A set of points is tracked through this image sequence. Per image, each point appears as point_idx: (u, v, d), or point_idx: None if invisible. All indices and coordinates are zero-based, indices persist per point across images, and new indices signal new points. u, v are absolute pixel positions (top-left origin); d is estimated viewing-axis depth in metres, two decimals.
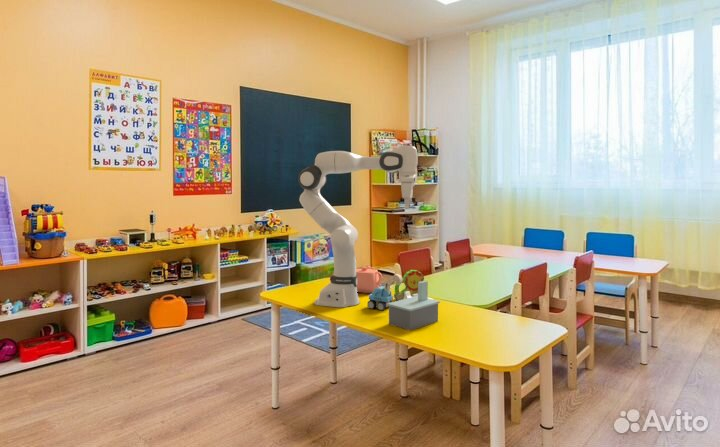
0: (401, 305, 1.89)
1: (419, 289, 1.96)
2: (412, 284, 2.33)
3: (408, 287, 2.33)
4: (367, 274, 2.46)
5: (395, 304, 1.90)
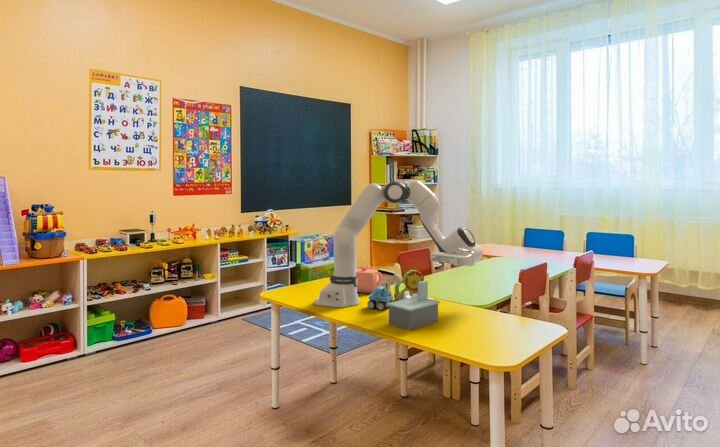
0: (401, 305, 1.89)
1: (419, 289, 1.96)
2: (412, 284, 2.33)
3: (408, 287, 2.33)
4: (367, 274, 2.46)
5: (395, 304, 1.90)
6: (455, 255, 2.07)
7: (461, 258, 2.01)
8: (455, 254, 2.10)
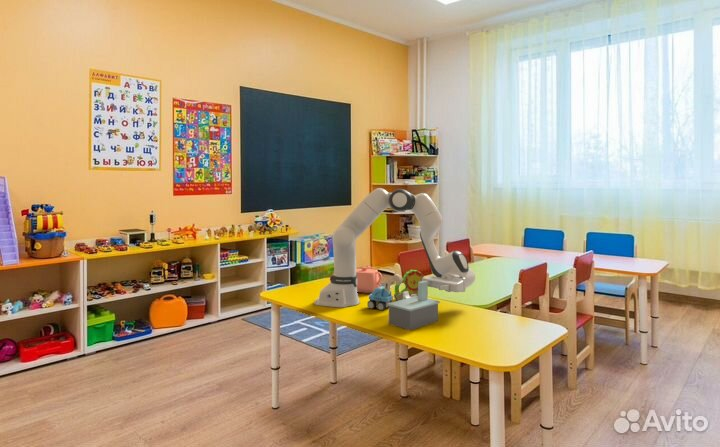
0: (401, 305, 1.89)
1: (419, 289, 1.96)
2: (412, 284, 2.33)
3: (408, 287, 2.33)
4: (367, 274, 2.46)
5: (395, 304, 1.90)
6: (446, 281, 2.04)
7: (452, 285, 1.98)
8: (446, 279, 2.07)
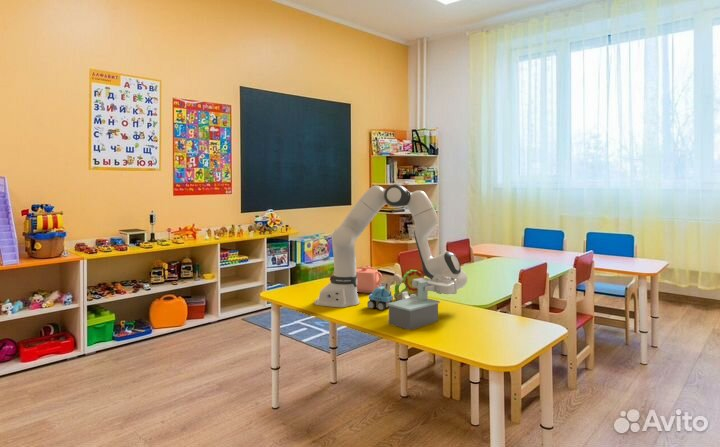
0: (401, 305, 1.89)
1: (419, 289, 1.96)
2: None
3: (408, 287, 2.33)
4: (367, 274, 2.46)
5: (395, 304, 1.90)
6: (437, 283, 1.99)
7: (443, 286, 1.94)
8: (437, 281, 2.03)
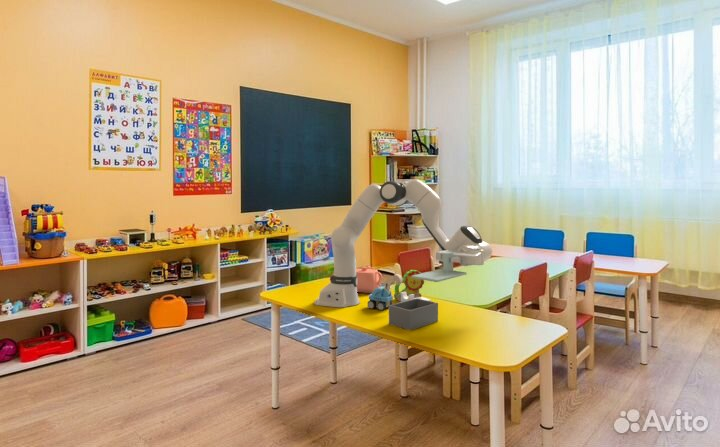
0: (427, 276, 1.78)
1: (444, 260, 1.86)
2: (412, 284, 2.33)
3: (408, 287, 2.33)
4: (367, 274, 2.46)
5: (420, 276, 1.80)
6: (463, 253, 1.89)
7: (470, 257, 1.83)
8: (463, 252, 1.92)
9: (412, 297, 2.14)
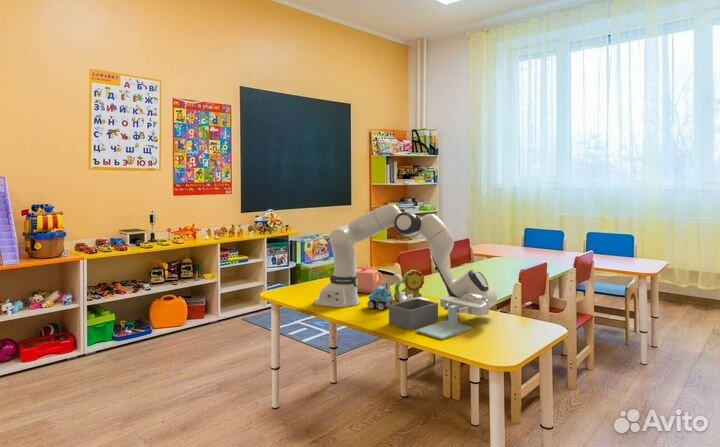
0: (431, 332, 1.78)
1: (449, 314, 1.85)
2: (412, 284, 2.33)
3: (408, 287, 2.33)
4: (367, 274, 2.46)
5: (425, 331, 1.79)
6: (468, 303, 1.88)
7: (475, 307, 1.82)
8: (468, 301, 1.91)
9: (411, 297, 2.13)
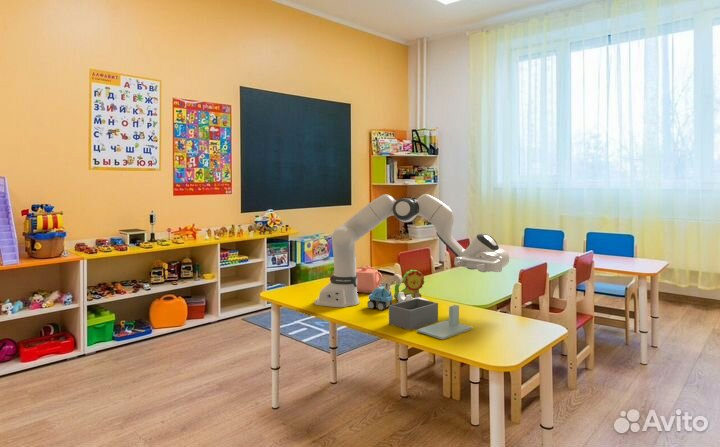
0: (432, 332, 1.78)
1: (450, 314, 1.85)
2: (412, 284, 2.33)
3: (408, 287, 2.33)
4: (367, 274, 2.46)
5: (425, 330, 1.80)
6: (482, 260, 1.93)
7: (489, 263, 1.88)
8: (481, 259, 1.97)
9: (409, 297, 2.13)
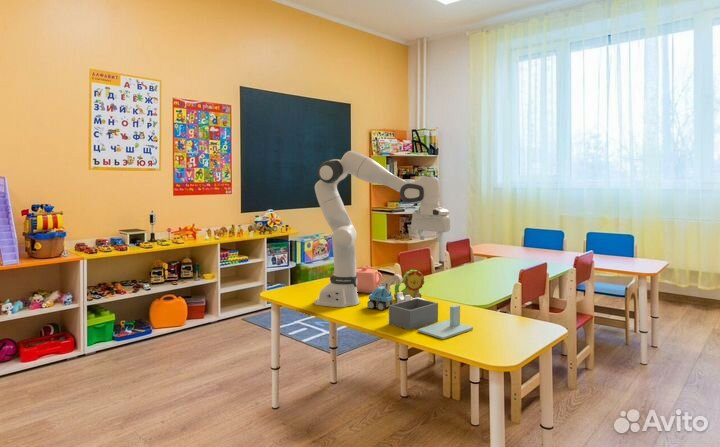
0: (433, 332, 1.78)
1: (451, 314, 1.85)
2: (412, 284, 2.33)
3: (408, 287, 2.33)
4: (367, 274, 2.46)
5: (426, 330, 1.80)
6: (432, 226, 2.05)
7: (442, 232, 2.02)
8: (429, 219, 2.07)
9: (408, 298, 2.13)
